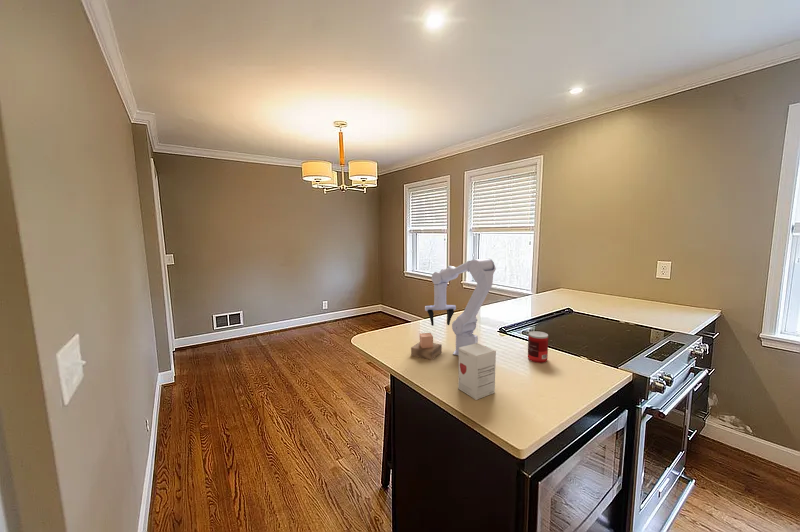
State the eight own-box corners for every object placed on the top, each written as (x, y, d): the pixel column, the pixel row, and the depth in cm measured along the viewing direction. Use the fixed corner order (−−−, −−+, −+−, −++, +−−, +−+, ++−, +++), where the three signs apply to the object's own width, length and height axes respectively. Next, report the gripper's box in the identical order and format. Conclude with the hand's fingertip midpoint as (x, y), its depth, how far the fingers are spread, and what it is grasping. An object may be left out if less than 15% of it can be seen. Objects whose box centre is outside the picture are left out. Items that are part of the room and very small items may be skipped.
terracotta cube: (430, 343, 147) (430, 332, 146) (433, 347, 142) (433, 336, 141) (419, 344, 146) (419, 333, 146) (421, 348, 141) (421, 337, 141)
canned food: (547, 357, 138) (548, 332, 137) (547, 364, 131) (548, 338, 130) (528, 354, 142) (529, 330, 140) (527, 361, 135) (527, 335, 133)
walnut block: (441, 353, 146) (441, 344, 146) (431, 360, 138) (431, 351, 137) (421, 349, 151) (421, 340, 151) (411, 356, 143) (411, 347, 142)
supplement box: (457, 389, 112) (457, 347, 111) (476, 382, 117) (477, 342, 115) (475, 400, 104) (476, 355, 103) (495, 393, 109) (496, 350, 107)
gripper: (453, 294, 158) (453, 321, 160) (423, 295, 157) (423, 323, 159) (457, 297, 151) (456, 326, 153) (426, 298, 150) (426, 327, 152)
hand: (440, 324), depth 155 cm, fingers open, 7 cm apart
